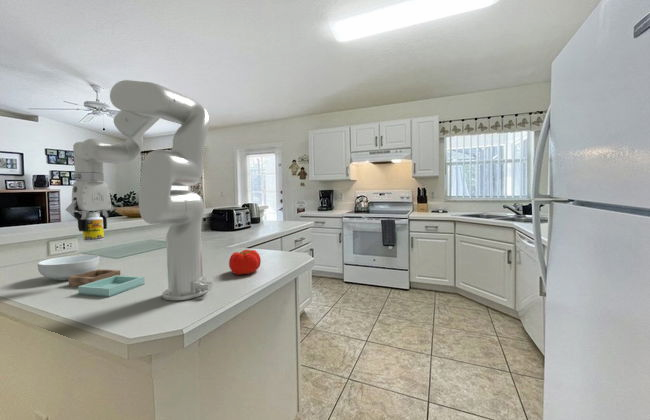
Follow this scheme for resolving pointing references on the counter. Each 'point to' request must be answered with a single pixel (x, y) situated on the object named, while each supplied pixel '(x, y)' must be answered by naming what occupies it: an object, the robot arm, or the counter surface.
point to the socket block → (91, 276)
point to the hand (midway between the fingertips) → (93, 229)
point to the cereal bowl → (68, 266)
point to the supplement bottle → (94, 227)
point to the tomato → (244, 262)
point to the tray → (110, 286)
